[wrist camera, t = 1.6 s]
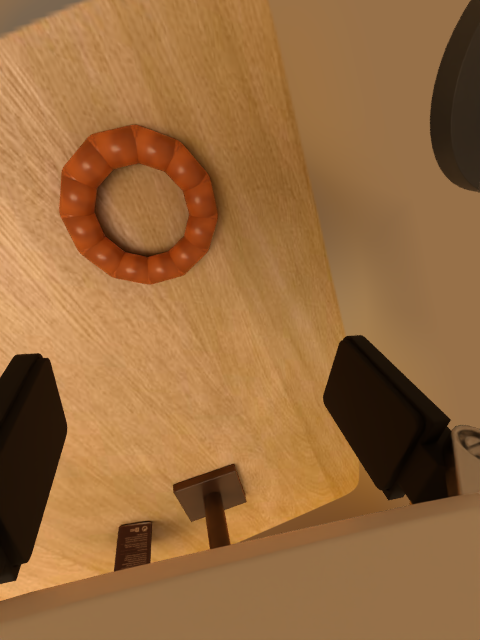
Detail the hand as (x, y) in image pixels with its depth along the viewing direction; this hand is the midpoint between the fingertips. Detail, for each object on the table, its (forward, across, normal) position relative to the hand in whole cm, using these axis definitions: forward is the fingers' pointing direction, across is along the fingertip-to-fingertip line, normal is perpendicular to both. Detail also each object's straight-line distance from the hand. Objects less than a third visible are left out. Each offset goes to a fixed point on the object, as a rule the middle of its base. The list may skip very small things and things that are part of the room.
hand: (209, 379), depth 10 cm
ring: (+15, +2, -2) cm, 15 cm away
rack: (+16, -4, +34) cm, 37 cm away
